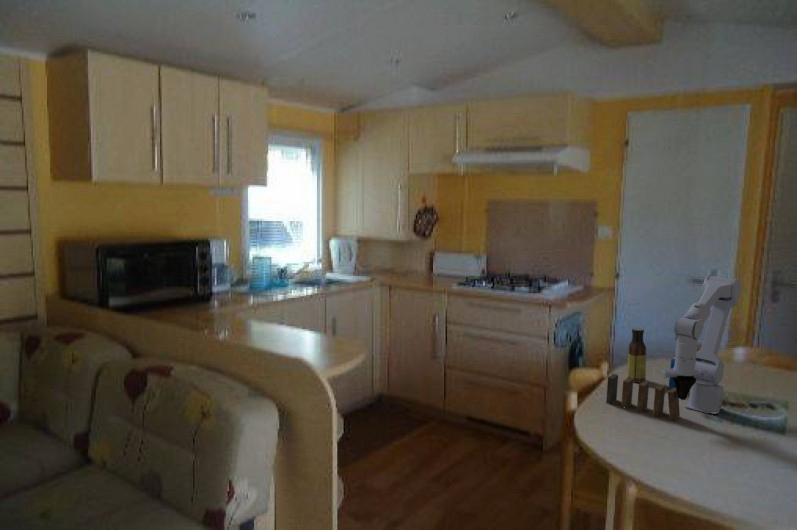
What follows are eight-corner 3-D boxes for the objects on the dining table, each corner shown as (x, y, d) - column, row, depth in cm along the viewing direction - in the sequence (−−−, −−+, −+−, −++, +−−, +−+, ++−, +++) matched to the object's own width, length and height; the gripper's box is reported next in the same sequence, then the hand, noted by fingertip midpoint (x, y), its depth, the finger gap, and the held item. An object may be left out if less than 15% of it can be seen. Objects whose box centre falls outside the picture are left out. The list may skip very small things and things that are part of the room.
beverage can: (691, 394, 198) (694, 361, 196) (671, 392, 199) (674, 360, 197) (685, 387, 204) (688, 356, 202) (666, 386, 205) (669, 354, 203)
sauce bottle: (646, 379, 212) (650, 328, 209) (643, 384, 207) (647, 332, 204) (627, 376, 215) (631, 325, 212) (624, 381, 210) (628, 329, 207)
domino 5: (679, 415, 179) (677, 388, 178) (675, 420, 175) (673, 392, 174) (674, 415, 180) (672, 387, 179) (669, 420, 176) (667, 391, 175)
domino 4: (663, 412, 182) (665, 385, 181) (658, 417, 178) (660, 389, 177) (657, 410, 183) (660, 384, 182) (653, 415, 179) (655, 388, 178)
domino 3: (647, 408, 185) (649, 381, 184) (641, 412, 181) (644, 386, 180) (642, 406, 186) (644, 380, 185) (636, 411, 182) (638, 384, 181)
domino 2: (631, 404, 188) (633, 378, 187) (626, 408, 185) (628, 382, 183) (626, 402, 189) (628, 377, 188) (621, 407, 186) (623, 381, 184)
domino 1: (616, 400, 192) (618, 374, 190) (610, 404, 188) (612, 378, 187) (611, 398, 193) (613, 373, 191) (606, 403, 189) (608, 377, 188)
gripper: (697, 351, 178) (694, 392, 180) (656, 353, 176) (652, 395, 178) (713, 358, 171) (709, 401, 173) (670, 360, 169) (667, 403, 171)
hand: (681, 398), depth 175 cm, fingers closed
